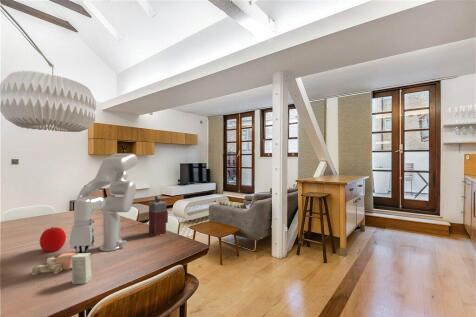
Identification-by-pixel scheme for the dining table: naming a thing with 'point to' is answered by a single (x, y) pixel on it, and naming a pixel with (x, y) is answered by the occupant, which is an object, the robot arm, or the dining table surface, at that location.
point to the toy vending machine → (157, 217)
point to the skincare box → (81, 268)
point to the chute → (48, 267)
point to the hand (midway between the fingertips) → (81, 258)
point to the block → (65, 260)
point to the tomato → (52, 239)
